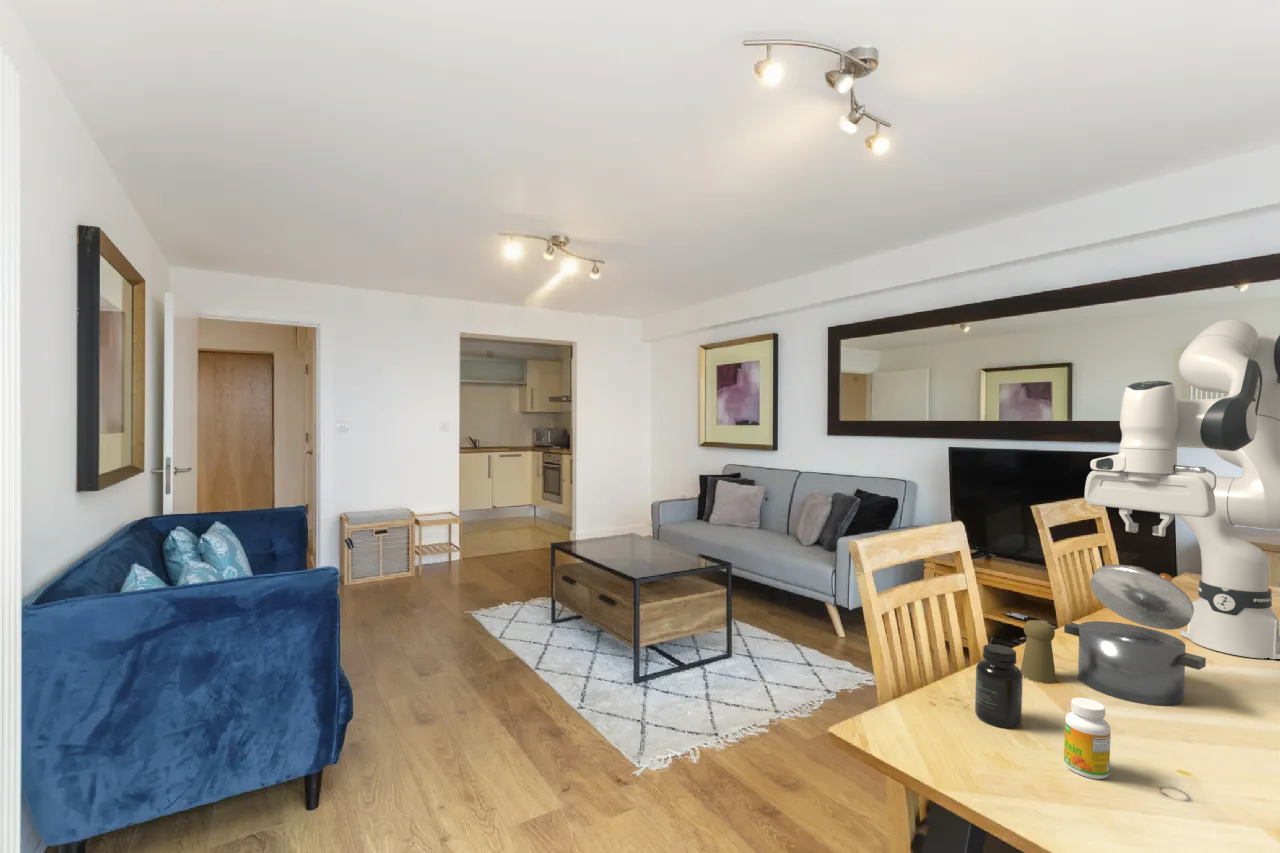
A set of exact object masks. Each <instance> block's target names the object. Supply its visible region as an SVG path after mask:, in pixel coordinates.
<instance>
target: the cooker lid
mask: <svg viewBox="0 0 1280 853" xmlns="http://www.w3.org/2000/svg"><path fill="white" fill-rule="evenodd" d="M1172 580H1173V577H1172V576H1171V575H1170V574H1168V573H1166V572H1164V573H1163V572H1162V573H1160V574H1157V573H1155V572H1153V571H1149V570H1147V569H1145V567H1143V566H1137V565H1132V564H1128V565H1127V564H1126V565H1125V564H1107V565H1103V566H1100V567H1099V568H1097V569H1096V570H1095V571H1094V573H1093V575H1092V576H1091V578H1090V582H1089V585H1090V588H1091V591H1092V594H1093V595H1094V596H1095V597H1096V599H1097V600H1098V601H1099V602H1100V603H1101V604H1102V605H1103V606H1104V607H1106V608H1107V609H1108V610H1110V611H1112V612H1113V613H1115V614H1116V615H1118V616H1120V617H1121V618H1124V619H1125V620H1128V621H1130V622H1133V623H1135V624H1138V625H1139V626H1142V627H1146V628H1150V629H1155V630H1156V629H1157V630H1169V631H1171V630H1179V629H1182V628H1184V627H1186V626H1188V624H1189V622H1190V621H1191V618H1192V616H1193V613H1194V607H1193V604H1192V602H1193V601H1192V599H1190V597H1189V596H1188V594H1186V592H1184V590H1182V588H1180V587H1179V586H1177V584H1175V583H1173V582H1172Z"/></svg>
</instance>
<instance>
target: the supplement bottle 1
mask: <svg viewBox="0 0 1280 853" xmlns="http://www.w3.org/2000/svg"><path fill="white" fill-rule="evenodd" d="M982 648H983V650H982V658H983V659H982V660H979V661H978V662H977V664H976V667H975V691H974V692H975V696H974V705H975V706H974V711H975V712H974V714H975V716H976V717H977V718H978V719H979V720H980V721H981V722H984V723H986V724H988V725H991V726H993V727H997V728H1000V729H1001V728H1002V729H1014V728H1015V729H1016V728H1018V727H1019V726H1020V725H1021V724H1022V715H1023V711H1022V710H1023V705H1022V704H1023V678H1024V677H1023V676H1022V672H1021V668H1019V667H1018V666H1017V652H1016V650H1015V649H1013V648H1011V647H1009V646H1006V645H1001V644H995V643H994V644H993V643H992V644H991V643H990V644H985V645H983V647H982Z"/></svg>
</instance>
